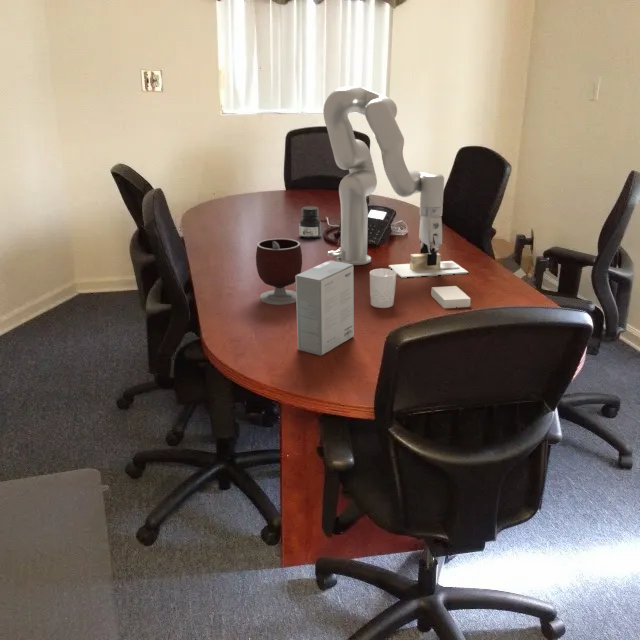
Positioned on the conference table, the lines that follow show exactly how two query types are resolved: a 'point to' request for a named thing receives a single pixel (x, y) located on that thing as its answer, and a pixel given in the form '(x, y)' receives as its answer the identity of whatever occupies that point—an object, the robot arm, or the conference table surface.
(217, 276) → the conference table surface
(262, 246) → the mate gourd
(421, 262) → the cream block on base
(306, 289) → the hard drive box
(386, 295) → the white cup
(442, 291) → the tile
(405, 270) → the mat
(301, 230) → the ink bottle
